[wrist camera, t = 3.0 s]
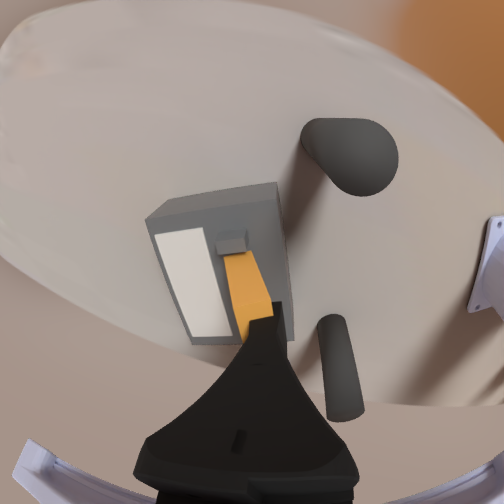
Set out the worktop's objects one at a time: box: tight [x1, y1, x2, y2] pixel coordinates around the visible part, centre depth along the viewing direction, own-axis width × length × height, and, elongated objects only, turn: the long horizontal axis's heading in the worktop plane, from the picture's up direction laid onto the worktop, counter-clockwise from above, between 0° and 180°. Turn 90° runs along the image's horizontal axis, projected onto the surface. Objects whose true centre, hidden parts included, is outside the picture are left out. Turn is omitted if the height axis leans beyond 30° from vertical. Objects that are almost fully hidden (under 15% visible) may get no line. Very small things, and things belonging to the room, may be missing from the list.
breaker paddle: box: [224, 250, 273, 344], centre depth 11 cm, size 1×4×4 cm, turn 10°
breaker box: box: [145, 182, 294, 345], centre depth 14 cm, size 6×8×4 cm
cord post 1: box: [301, 118, 398, 197], centre depth 9 cm, size 2×2×7 cm
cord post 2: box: [317, 314, 365, 422], centre depth 14 cm, size 2×2×7 cm
